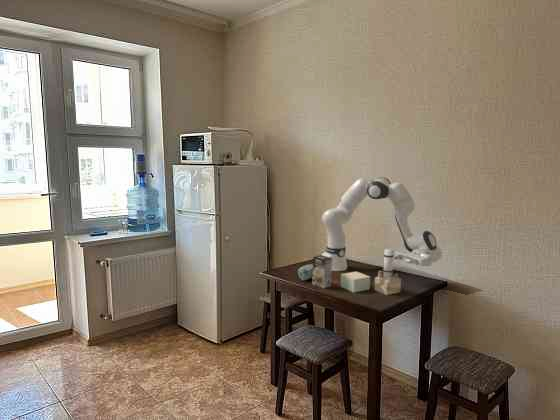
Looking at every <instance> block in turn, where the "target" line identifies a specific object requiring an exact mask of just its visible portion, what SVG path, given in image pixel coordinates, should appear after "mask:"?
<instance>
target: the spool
mask: <svg viewBox="0 0 560 420" xmlns="http://www.w3.org/2000/svg"><path fill="white" fill-rule="evenodd" d="M297 274H298V277H299V279H300V280H301V281H304V282H305V280H306V281H308V280H310V279H312V278H313V263H312V264H306V265H303V266H301V267H299V268H298V269H297Z"/></svg>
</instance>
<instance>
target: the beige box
mask: <svg viewBox="0 0 560 420" xmlns="http://www.w3.org/2000/svg"><path fill="white" fill-rule="evenodd" d="M340 282H341V287H340V288H343V289H345V290H347V291H349V292H352V293H358V292H363V291H368V290H370V288H371V276H369V275H367V274H364V273H361V272H359V271H351V272H345V273H341V274H340Z"/></svg>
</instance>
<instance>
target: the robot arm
mask: <svg viewBox="0 0 560 420" xmlns="http://www.w3.org/2000/svg"><path fill="white" fill-rule="evenodd" d="M367 196H368V198H370V199H373V200H382V199H387V198H388V199H389V200H390V202H391V203H392V206H393V207H394V211H395V214H394V217H395V221H396V225H397V227H398V229H399V231H400V232H399V233H400V234H401V237H402V240H403V245H404V247H405V249H406V250H407V251H406V250H405V251H404V250H398V251H394V257H393V260H400V261H404V262H406V263H407V264H413V265H416V266H421V267H431V266H432V265H433V263H436V262H438V261H439V260H440V259H441V258H442V256H443V251H442V249H441V248H440V247H439V246H438V244H437V240H436V236H435V235H434V234H433V233H432V232H431V231H429V230H425V231H421V232H418V233H415V234H413V233H412V231H411V229H410V226H409V224H408V218H409V217H410V215H412V213H413V212H414V210H415V207H416V204H415V200H414V199H413V197H412V195H411V194H410V192H409V190H408V188H406V187H405V185H404V184H403V183H402V182H399V181H397V182H393V183H391V181H390V180H389V179H388V178H386V177H383V176H382V177H378V178H375V179H371V180H368V179H366V178H363V177H360V178H358V179H357V180H355V181H354V182H353V184H351V185H350V186H349V188H348V189H347V190H346V191H345V193H343V195H342V196H341V197H340V202H339V204H338V205H337V206H336V207H335V208H330V209H327V210H326V211H324V212H323V214H322V216H321V219H322V223H323V225H324V226H325V228H326V232H327V233H326V234H327V246H325V251H324V252H323V253H322V254H321V255H323V256H326V257H330V258H332V272H344V271H347V270H348V269H347V268H348V264H347V255H346V252H347V251H346V234H345V232H344V231H343V225H344V224H347V223H348V222H349V221H351V219H352V216H353V214H354V212H355V211H356V209H357V208H358V206H360V204H361V203H362V202H363V200H364V199H365V198H366V197H367Z"/></svg>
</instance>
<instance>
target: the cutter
mask: <svg viewBox="0 0 560 420" xmlns="http://www.w3.org/2000/svg"><path fill="white" fill-rule="evenodd" d="M334 285H335V287H340V288H342V287H341V281H338V280H334V279H332V281H331V286H334Z"/></svg>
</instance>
